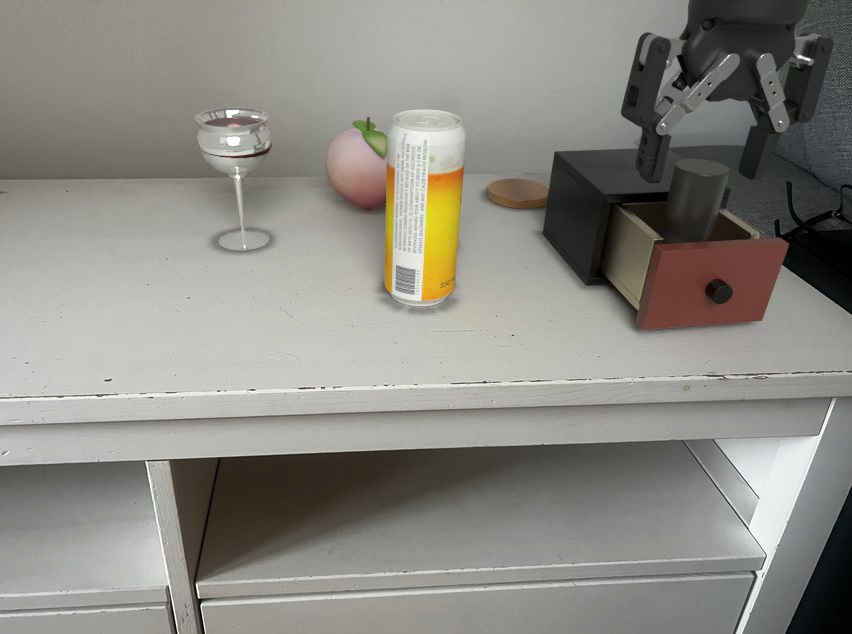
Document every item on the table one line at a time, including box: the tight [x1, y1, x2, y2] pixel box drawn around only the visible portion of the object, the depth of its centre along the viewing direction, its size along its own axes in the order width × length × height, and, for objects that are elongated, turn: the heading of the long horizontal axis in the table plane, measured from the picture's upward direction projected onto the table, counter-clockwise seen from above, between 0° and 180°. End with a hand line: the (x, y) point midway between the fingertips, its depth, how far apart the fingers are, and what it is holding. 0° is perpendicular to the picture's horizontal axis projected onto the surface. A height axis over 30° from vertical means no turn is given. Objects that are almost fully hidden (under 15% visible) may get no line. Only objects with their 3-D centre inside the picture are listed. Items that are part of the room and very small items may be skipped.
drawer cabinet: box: [542, 147, 732, 287], centre depth 68 cm, size 12×12×9 cm
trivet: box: [486, 178, 549, 210], centre depth 82 cm, size 7×7×1 cm
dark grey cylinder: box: [658, 158, 731, 244], centre depth 59 cm, size 4×4×10 cm
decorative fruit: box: [324, 116, 387, 211], centre depth 76 cm, size 9×8×10 cm
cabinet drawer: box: [598, 200, 790, 331], centre depth 59 cm, size 12×10×7 cm
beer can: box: [383, 108, 467, 307], centre depth 59 cm, size 6×6×15 cm
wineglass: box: [194, 106, 273, 252], centre depth 68 cm, size 7×7×12 cm
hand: (699, 178), depth 56 cm, fingers open, 8 cm apart
